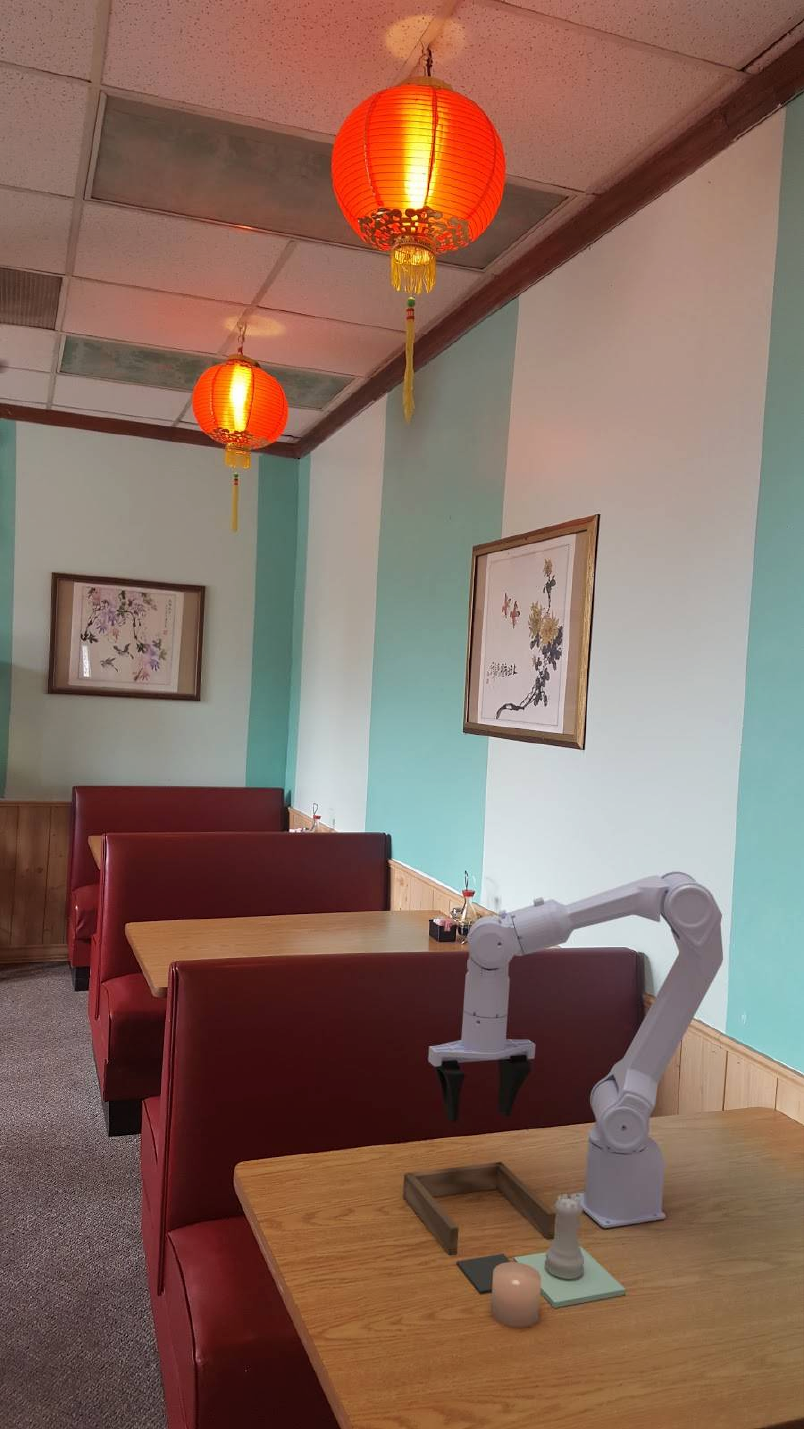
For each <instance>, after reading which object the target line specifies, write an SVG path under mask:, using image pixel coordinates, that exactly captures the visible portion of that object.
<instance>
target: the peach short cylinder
mask: <svg viewBox="0 0 804 1429" xmlns="http://www.w3.org/2000/svg"><path fill="white" fill-rule="evenodd" d="M540 1288H541V1276H540V1274H539V1272H538V1271H537V1270H535V1269H534V1268H532V1267H531V1266H528V1265H526V1264H522V1263H517V1262H513V1261H510V1262H506V1263H502V1264H500V1265H498V1266H496V1267H495V1269H494V1271H493V1284H492V1292H491V1300H490V1302H491V1303H490V1314H491V1316H492V1317H493V1318H494V1319H495V1320H496V1321H497V1322H498V1323H500V1322H501V1323H500V1324H502V1323H503V1324H502V1325H505V1326H507V1327H511V1328H517V1329H518V1328H529V1327H530V1326H534V1325H535V1324H537V1322H538V1321H539V1316H540V1314H539V1313H540V1301H541V1293H540Z"/></svg>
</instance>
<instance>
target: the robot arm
mask: <svg viewBox="0 0 804 1429" xmlns="http://www.w3.org/2000/svg"><path fill="white" fill-rule="evenodd" d="M497 914H498V917H497V916H496V917H495V916H492V915H486V916H482V917H480V918H478V919H475V921H474V923H473V924H472V925H471V926H470V929H469V930H468V933H467V936H466V938H467V939H466V940H467V947H468V954H469V957H468V959H467V962H466V966H467V967H466V970H467V972H466V974H465V979H464V980H465V983H464V994H463V995H464V996H463V997H464V998H463V1013H462V1024H461V1025H462V1027H461V1039H459V1040H455V1041H451V1042H447V1043H443V1044H439V1045H431V1046H428V1057H427V1058H428V1060H427V1061H428V1062H429V1063H430V1064H431V1065H432V1068H433V1069H434V1072H435V1074H436V1076H437V1079H438V1083H439V1086H440V1090H441V1092H442V1097H443V1103H444V1109H445V1110H444V1111H445V1117H447V1119H448V1120H450V1121H451V1122H452V1123H454V1122H458V1120H459V1116H460V1115H459V1113H460V1099H461V1093H462V1092H461V1091H462V1087H463V1083H464V1080H465V1077H466V1074H465V1073H464V1072H463V1071H462V1070H461V1068H460V1067H461V1066H460V1065H459V1064H460V1063H470V1062H482V1061H483V1062H484V1061H495V1060H496V1061H497V1065H498V1066H497V1067H498V1078H499V1079H498V1082H499V1084H498V1097H497V1098H498V1100H497V1108H498V1111H499V1112H500V1113H501V1114H502V1115H503V1116H505V1117H510V1116H511V1114H512V1109H513V1108H514V1104H515V1101H516V1099H517V1095H518V1094H519V1091H520V1089H521V1087H522V1085H523V1084H524V1082H525V1081H526V1078H527V1077H528V1076H529V1075H530V1074H531V1071H532V1063H531V1062H530V1061H528V1060H533V1059H535V1057H536V1056H535V1055H536V1043H534V1042H532V1041H531V1040H530V1039H511V1038H509V1039H508V1038H507V1029H508V1027H507V1025H508V1013H509V1012H508V1011H509V1010H508V1009H509V995H510V981H511V979H510V977H509V967H510V966H509V965H510V962H511V961H512V959H513V957H514V956H517V957H522V956H526V955H529V954H533V953H535V952H539V951H542V950H545V949H549V948H552V947H555V946H559V945H561V944H565V943H567V942H568V940H569V939H570V937H571V934H572V933H573V931H575V930H578V929H582V928H586V927H589V926H593V925H598V924H601V923H605V922H610V921H614V920H618V919H622V918H626V917H629V916H638V917H639V918H640V917H641V918H644V919H646V920H651V921H653V922H655V923H656V922H657V923H660V922H661V917H662V919H663V920H664V921H665V922H666V923H667V925H668V926H669V927H670V931H671V933H672V934H671V935H672V937H673V940H674V943H675V944H676V947H677V950H678V955H677V957H676V959H675V960H674V962H673V964H672V965H671V967H670V969H669V972H668V974H667V976H666V977H665V979H664V981H663V982H662V985H661V987H660V989H659V991H658V993H657V994H656V995H655V998H654V1000H653V1001H652V1003H651V1005H650V1008H648V1009H649V1010H648V1011H647V1012H646V1015H645V1017H644V1018H643V1021H642V1022H641V1024H640V1027H639V1028H638V1030H637V1031H636V1034H635V1035H634V1038H633V1040H632V1041H631V1043H630V1045H629V1047H628V1049H627V1051H626V1053H625V1054H624V1056H623V1058H622V1059H620V1060H619V1061H618V1062H616V1063H615V1064H613V1066H612V1068H611V1070H610V1071H609V1073H608V1074H607V1075H606V1076H605V1077H603V1078H602V1079H600V1080H599V1081H598V1082H597V1083H596V1084H595V1085H594V1086H593V1088H592V1090H591V1093H590V1096H589V1102H590V1108H591V1110H592V1113H593V1114H594V1116H595V1121H594V1123H593V1125H592V1127H591V1128H590V1129H589V1131H588V1139H587V1149H586V1150H587V1151H586V1165H585V1181H584V1183H585V1184H584V1192H579V1193H573V1194H571V1195H574V1196H576V1197H575V1200H576V1198H579V1199H580V1205H581V1207H582V1208H583V1212H584V1213H585V1214H587V1215H588V1216H589V1217H590V1218H591V1219H593V1220H594V1221H595V1222H596V1223H597V1224H598V1225H599V1226H600V1227H601V1228H604V1229H608V1228H613V1227H620V1226H627V1225H633V1224H634V1225H635V1224H640V1223H641V1224H642V1223H646V1222H647V1223H648V1222H651V1221H658V1220H664V1219H665V1218H666V1214H665V1213H664V1212H663V1211H662V1210H663V1194H664V1182H665V1181H664V1180H665V1160H664V1156H663V1152H662V1150H661V1148H660V1145H659V1144H658V1143H657V1142H656V1141H655V1139H653V1138H652V1137H649V1133H650V1119H651V1115H652V1113H653V1111H654V1110H655V1108H656V1107H655V1106H656V1102H657V1094H658V1085H659V1083H660V1082H661V1079H662V1077H663V1075H664V1073H665V1071H666V1069H667V1067H668V1066H669V1064H670V1062H671V1060H672V1059H673V1057H674V1055H675V1053H676V1051H677V1049H678V1047H679V1045H680V1043H681V1042H682V1039H683V1037H684V1036H685V1034H686V1032H687V1030H688V1028H689V1026H690V1025H691V1023H692V1021H693V1019H694V1017H695V1015H696V1013H697V1012H698V1010H699V1007H700V1006H701V1004H702V1002H703V1000H704V998H705V997H706V994H707V993H708V990H709V989H710V987H711V985H712V983H713V982H714V979H715V977H716V976H717V974H718V972H719V970H720V968H721V966H722V965H723V961H724V953H723V952H724V950H723V937H722V927H721V926H722V925H721V924H722V918H723V913H722V912H721V910H720V907H719V905H718V904H717V901H716V900H715V898H714V896H713V894H712V893H711V891H710V890H709V889H708V888H707V887H706V886H704V885H702V884H701V883H699V882H697V881H696V879H695V878H694V877H692V876H691V875H690V874H687V873H686V872H682V871H679V870H678V871H670V872H666V873H665V874H663V875H661V876H659V875H650V876H647V877H643V878H641V879H637V880H634V881H631V882H628V883H626V884H623V885H620V886H618V887H615V888H612V889H608V890H606V891H604V892H603V891H602V892H600V893H597V894H594V895H591V896H589V897H585V898H583V899H580V900H577V901H574V902H571V903H568V904H566V905H565V904H562V903H561V902H558V901H557V900H555V899H548V900H546V901H545V900H544V898H543V897H537V898H534V899H533V904H532V905H529V906H525V907H522V908H519V909H515V910H512V911H509V912H507V911H506V909H503V910H499V911H498V913H497ZM458 1063H459V1064H458ZM571 1195H570V1196H569V1198H570V1199H571Z"/></svg>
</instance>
